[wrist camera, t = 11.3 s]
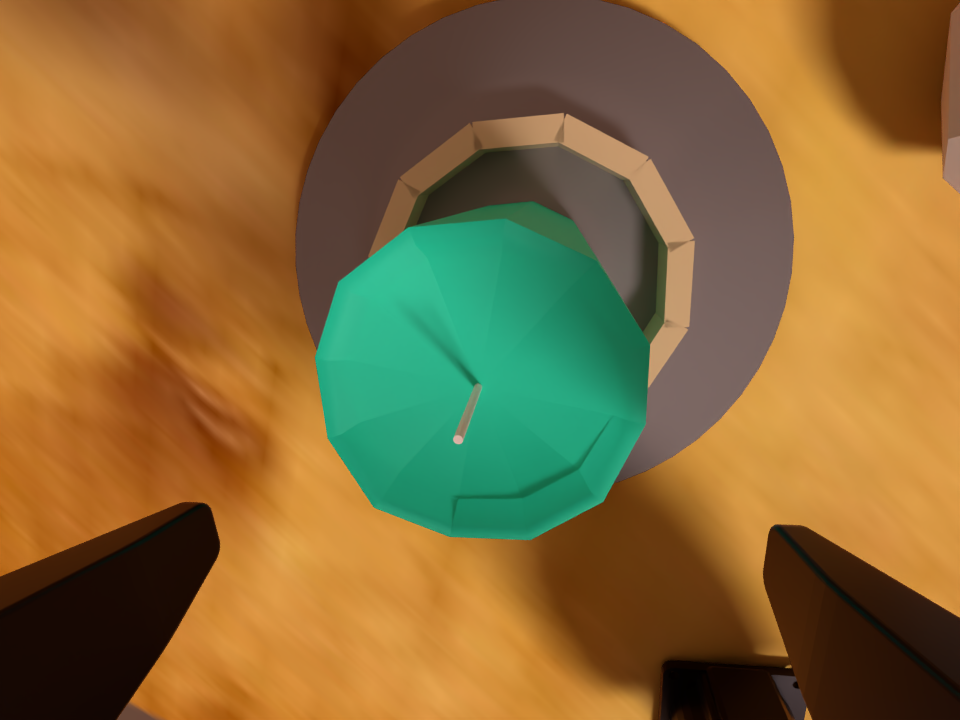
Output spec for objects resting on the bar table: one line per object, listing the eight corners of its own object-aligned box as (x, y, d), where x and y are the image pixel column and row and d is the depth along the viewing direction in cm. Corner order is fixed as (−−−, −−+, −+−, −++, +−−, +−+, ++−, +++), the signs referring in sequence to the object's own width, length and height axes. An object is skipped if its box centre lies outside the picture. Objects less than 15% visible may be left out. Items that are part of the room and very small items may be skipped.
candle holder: (753, 484, 21) (778, 522, 18) (344, 478, 23) (321, 510, 21) (815, -32, 15) (864, -73, 13) (266, 40, 18) (222, 18, 15)
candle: (524, 391, 20) (485, 663, 8) (406, 293, 19) (193, 445, 8) (636, 276, 18) (779, 433, 6) (508, 162, 17) (417, 111, 6)
